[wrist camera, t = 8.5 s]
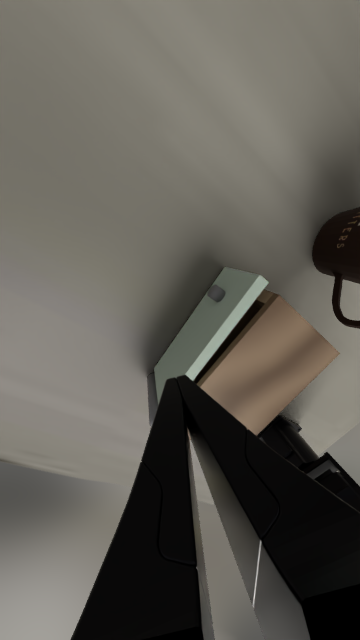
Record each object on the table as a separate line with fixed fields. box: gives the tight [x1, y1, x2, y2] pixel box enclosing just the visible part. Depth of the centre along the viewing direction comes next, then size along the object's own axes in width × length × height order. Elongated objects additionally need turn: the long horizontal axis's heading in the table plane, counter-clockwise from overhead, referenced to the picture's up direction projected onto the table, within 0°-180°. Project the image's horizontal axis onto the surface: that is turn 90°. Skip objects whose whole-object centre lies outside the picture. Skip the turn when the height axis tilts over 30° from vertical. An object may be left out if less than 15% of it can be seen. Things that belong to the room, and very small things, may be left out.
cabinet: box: [187, 289, 340, 440], centre depth 20 cm, size 10×15×6 cm, turn 143°
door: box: [147, 267, 269, 427], centre depth 17 cm, size 2×15×6 cm, turn 146°
